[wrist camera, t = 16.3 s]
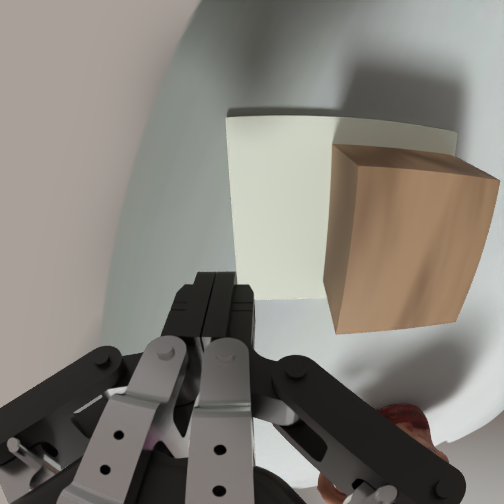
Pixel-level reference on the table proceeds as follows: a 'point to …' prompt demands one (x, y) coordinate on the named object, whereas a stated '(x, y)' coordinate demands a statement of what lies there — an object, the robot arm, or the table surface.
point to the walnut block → (402, 236)
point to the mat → (298, 192)
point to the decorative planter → (406, 420)
